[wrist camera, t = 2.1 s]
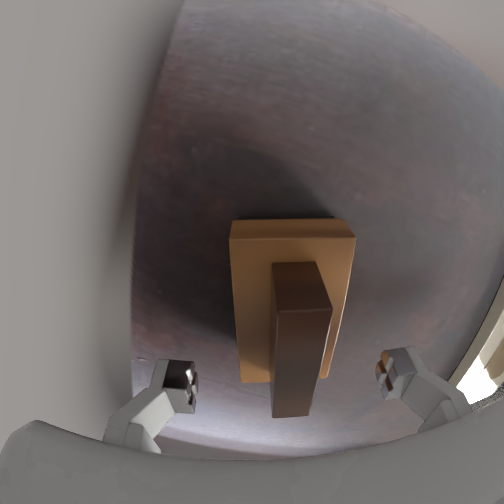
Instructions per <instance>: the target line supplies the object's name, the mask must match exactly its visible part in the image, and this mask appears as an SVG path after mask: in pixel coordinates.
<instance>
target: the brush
mask: <svg viewBox="0 0 504 504" xmlns="http://www.w3.org/2000/svg"><path fill="white" fill-rule="evenodd" d="M355 243H356V236H355V235H354V233H353V232H352V231H351V229H350V228H349V227H348V225H347V224H346V223H345V221H344V220H343V219H335V218H334V217H333V216H295V217H247V218H238V219H237V220H233V221H232V224H231V230H230V236H229V251H230V264H231V277H232V290H233V302H234V314H235V325H236V336H237V347H238V358H239V368H240V378H241V382H242V383H252V382H270V392H271V410H272V418H286V417H300V416H308V415H309V413H310V409H311V405H312V402H313V398H314V394H315V391H316V387H317V383H318V379H321V378H327V376H328V372H329V368H330V365H331V361H332V357H333V353H334V349H335V345H336V341H337V337H338V333H339V328H340V324H341V319H342V315H343V310H344V305H345V301H346V295H347V290H348V285H349V280H350V274H351V268H352V262H353V256H354V250H355Z"/></svg>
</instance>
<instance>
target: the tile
mask: <svg viewBox="0 0 504 504" xmlns="http://www.w3.org/2000/svg"><path fill="white" fill-rule="evenodd" d="M503 381H504V278H503V280H502V283H501V285H500V288H499V290H498V292H497V295H496V297H495V299H494V301H493V303H492V306H491V308H490V310H489V312H488V314H487V316H486V318H485V320H484V322H483V324H482V326H481V328H480V330H479V331H478V333H477V335H476V337H475V339H474V341H473V342H472V344H471V346H470V347H469V349H468V351H467V353H466V354H465V356H464V357H463V359H462V361H461V362H460V364H459V365H458V367H457V369H456V370H455V372H454V373H453V375H452V376H451V378H450V379H449V380H448V382H449V383H450V384H452V385H453V386H455V387H456V388H458V389H459V390H461V391H463V392H464V394H465V396H466V398H467V400H468V402H469V404H471V403H474V402H476V401H478V400H480V399H482V398H484V397H486V396H489V395H491V394H493V393H494V392H495V391H496V390H497V389H498V387H499V386H500V385H501V384H502V382H503Z"/></svg>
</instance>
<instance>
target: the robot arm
mask: <svg viewBox="0 0 504 504" xmlns="http://www.w3.org/2000/svg"><path fill="white" fill-rule="evenodd" d="M380 357H381V359H382V360H380V361H379V362H378V363H377V366H376V378H377V381H378V383H380V384H381V385H382V387H381V392H382V395H383V398H384V400H385V401H387V400H392V399H397V398H400V399H401V400H403V401H404V402H405V403H406V404H407V405H408V406H409V407H410V408H411V409H412V410H414V411H415V412H416V413H417V414H418V415H419V416H420V417H421V418H422V419H423V420H425V422H424V423H423V424H422V425H421V426H420V427H419V429H418V431H419V433H417V434H414V435H411V436H408V437H404V438H401V439H397V440H394V441H390V442H386V443H382V444H378V445H374V446H369V447H365V448H360V449H355V450H350V451H344V452H338V453H332V454H325V455H317V456H309V457H299V458H287V459H268V460H224V459H206V458H194V457H184V456H175V455H168V454H161V453H160V452H161V450H160V449H159V447H158V446H157V445H156V443H155V442H154V441H153V438H154V437H155V436H156V435H157V434H158V433H159V432H160V431H161V429H162V428H163V427H164V426H165V425H166V424H167V423H168V422H169V420H170V419H171V418H172V417H173V416H174V415H175V413H187V414H194V413H195V406H196V399H195V395H196V394H197V393H198V375H197V373H196V372H195V364H194V361H182V360H169V359H159V360H158V361H157V363H156V366H155V370H154V373H153V376H152V380H151V383H150V386H149V388H145V389H144V390H143V391H141V392H140V393H139V394H138V395H137V396H135V397H134V398H133V399H132V400H131V401H130V402H128V403H127V404H126V405H124V406H123V407H122V408H121V409H120V410H118V411H117V412H116V413H115V414H114V415H112V416H111V417H110V419H109V422H108V425H107V428H106V431H105V434H104V437H103V440H102V441H99V440H95V439H92V438H88V437H85V436H82V435H79V434H76V433H73V432H70V431H67V430H64V429H61V428H59V427H56V426H53V425H50V424H48V423H46V422H43V421H40V420H34V421H32V422H29V423H28V424H26V425H24V426H22V427H21V428H19V429H18V430H16V431H14V432H13V433H12V434H11V435H10V436H9V438H8V440H7V441H6V443H5V445H4V447H3V449H2V451H1V454H0V504H504V396H503V397H501V398H500V399H498V400H496V401H494V402H492V403H490V404H488V405H486V406H484V407H482V408H480V409H478V410H476V411H474V412H473V410H472V408H471V406H470V404H469V402H468V400H467V398H466V396H465V394H464V392H463V391H461V390H459V389H458V388H456V387H455V386H453V385H452V384H450V383H449V382H447V381H446V380H444V379H442V378H441V377H439V376H438V375H436V374H435V373H433V372H432V371H430V370H428V371H427V370H426V368H425V366H424V364H423V362H422V360H421V358H420V356H419V355H418V353H417V351H416V349H415V347H414V346H408V347H403V348H402V347H401V348H396V349H390V350H384V351H383V352H382V354H381V356H380Z"/></svg>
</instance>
